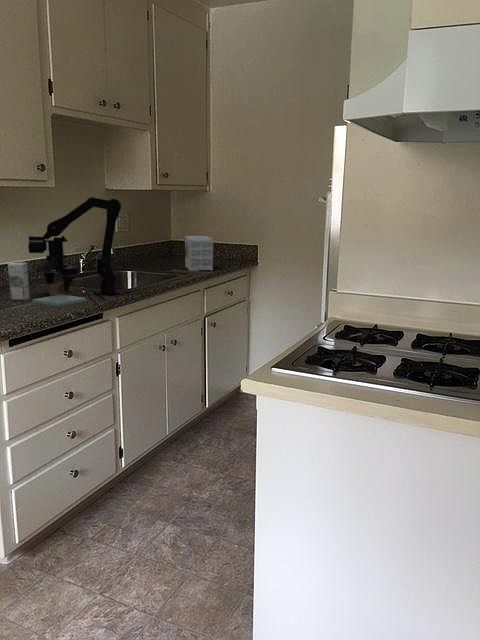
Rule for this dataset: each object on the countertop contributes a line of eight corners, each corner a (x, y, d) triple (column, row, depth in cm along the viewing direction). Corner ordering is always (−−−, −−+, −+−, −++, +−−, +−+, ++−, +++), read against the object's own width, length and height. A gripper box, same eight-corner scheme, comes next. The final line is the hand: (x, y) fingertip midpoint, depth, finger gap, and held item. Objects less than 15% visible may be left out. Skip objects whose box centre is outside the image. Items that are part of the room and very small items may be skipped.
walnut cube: (59, 294, 232) (58, 282, 231) (67, 295, 230) (66, 283, 228) (49, 296, 228) (48, 283, 227) (57, 297, 225) (57, 285, 224)
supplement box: (184, 267, 322) (184, 235, 318) (206, 266, 326) (206, 235, 322) (189, 271, 306) (189, 238, 302) (213, 270, 310) (213, 238, 306)
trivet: (61, 297, 225) (61, 294, 225) (85, 300, 218) (85, 297, 218) (32, 302, 213) (32, 299, 213) (57, 306, 206) (57, 303, 206)
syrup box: (30, 297, 223) (27, 261, 220) (24, 300, 217) (22, 263, 214) (15, 297, 223) (12, 261, 220) (10, 300, 217) (7, 263, 214)
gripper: (24, 253, 223) (27, 291, 226) (55, 256, 213) (58, 296, 217) (46, 250, 232) (49, 287, 236) (78, 253, 223) (80, 292, 226)
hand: (58, 290), depth 228 cm, fingers open, 9 cm apart
